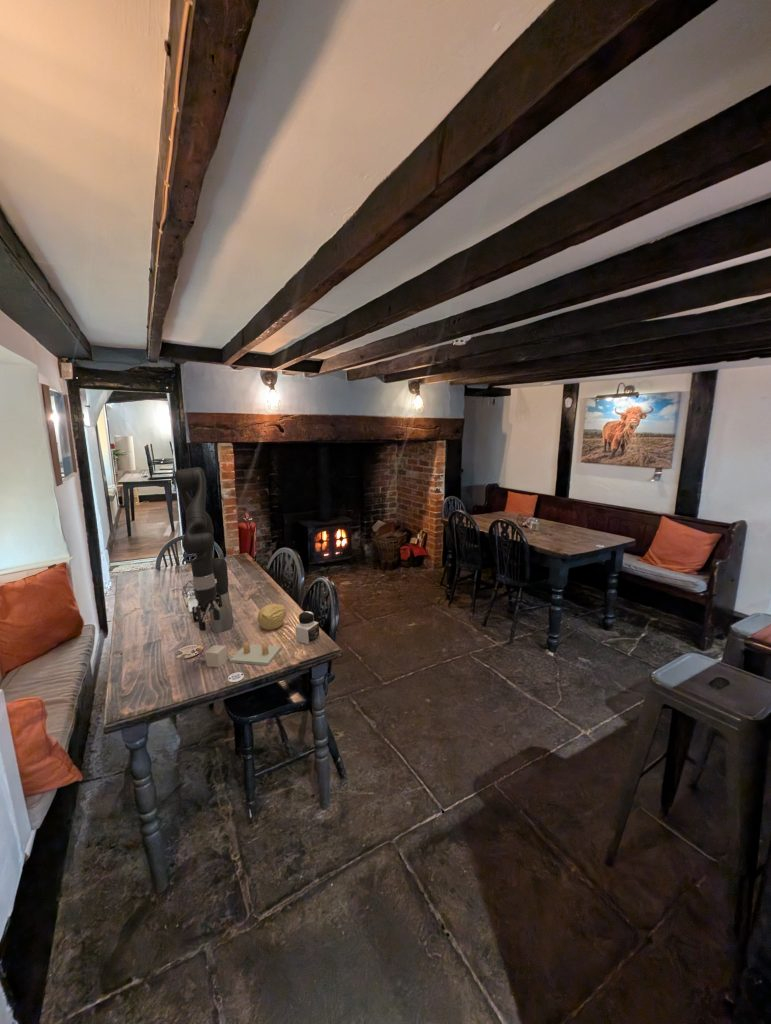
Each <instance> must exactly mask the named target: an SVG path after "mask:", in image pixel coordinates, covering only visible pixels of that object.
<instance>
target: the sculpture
mask: <svg viewBox="0 0 771 1024" xmlns="http://www.w3.org/2000/svg"><path fill="white" fill-rule="evenodd" d="M286 610H287V609H286V608H285V606H284V605H283V604H279V603H275V602H274V603H271V604H266V605H264V606H263V607H261V608H260V610H259V611H258V613H257V621H258V624H259V626H260V627H261V628H262V629H264V630H267V631H272V630H276V629H279V628H280V627H281V626H282V625H283V623H284V620H285V618H286V616H287V611H286Z"/></svg>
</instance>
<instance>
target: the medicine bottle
mask: <svg viewBox="0 0 771 1024" xmlns="http://www.w3.org/2000/svg"><path fill="white" fill-rule="evenodd" d="M298 619H299V621H298V622H299V623H297V624H296V625H295V627H294V629H295V636H296V637H295V638H296V642H298V643H302V644H305V645H311V644H313V643H314V642H315V641H316V640H318V639H319V638H320V626H319V625H320V624H319V622H318V621H315V618H314V613H313V612H312V611H303V612H300V614H299V615H298Z"/></svg>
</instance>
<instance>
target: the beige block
mask: <svg viewBox="0 0 771 1024" xmlns="http://www.w3.org/2000/svg"><path fill="white" fill-rule="evenodd" d="M204 654H205V661H206V667H209V668H221V667H222V666H223V665H224V664H225V663H226V662H227V661H228V653H227V647H226V645H220V644H219V645H217V644H216V645H215V644H212V646H211V647H210V648H208V649H207V650H206V651H205V652H204Z"/></svg>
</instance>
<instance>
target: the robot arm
mask: <svg viewBox="0 0 771 1024" xmlns="http://www.w3.org/2000/svg"><path fill="white" fill-rule="evenodd" d="M174 481H175V484H176V488H177V491H178V493H179V496H180V500H181V502H182V505H183V509H184V512H185V522H186V523H185V524H186V528H185V529H186V530H185V533H184V537H183V540H182V549H183V551H184V552H185V554H188V555H192V554H193V555H194V554H195V556H196V558H194V559H193V560H191V563H190V565H191V574H192V583H193V584H192V585H193V592H194V598H195V600H196V601H197V605H196V606H192V607H191V609H192V610H191V612H192V620H193V623H198V628H199V629H198V630H199V631H201V632H205V631H206V630H207V626H206V625H207V624H206V617H207V616H208V615H209V619H210V620H209V621H210V627H211V632H213V633H224V632H226V631H229V630H230V629H232V628H233V627H234V616H233V608H232V607H233V606H232V604H231V600H230V591H229V576H228V564H227V561H226V560H225V558H221V557H220V558H219V557H217V558H216V557H215V558H214V557H213V552H214V545H215V538H214V534H215V532H214V531H215V530H214V525H213V521H212V517H211V516H210V514H209V513H208V512H207V511H206V500H207V478H206V475H205V471H204V468H202V467H197V466H196V467H189V468H183V469H178V470H177V469H176V470H175V471H174ZM193 491H196V493H195V495H194V497H192V496H191V495H190V493H189V492H193Z"/></svg>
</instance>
